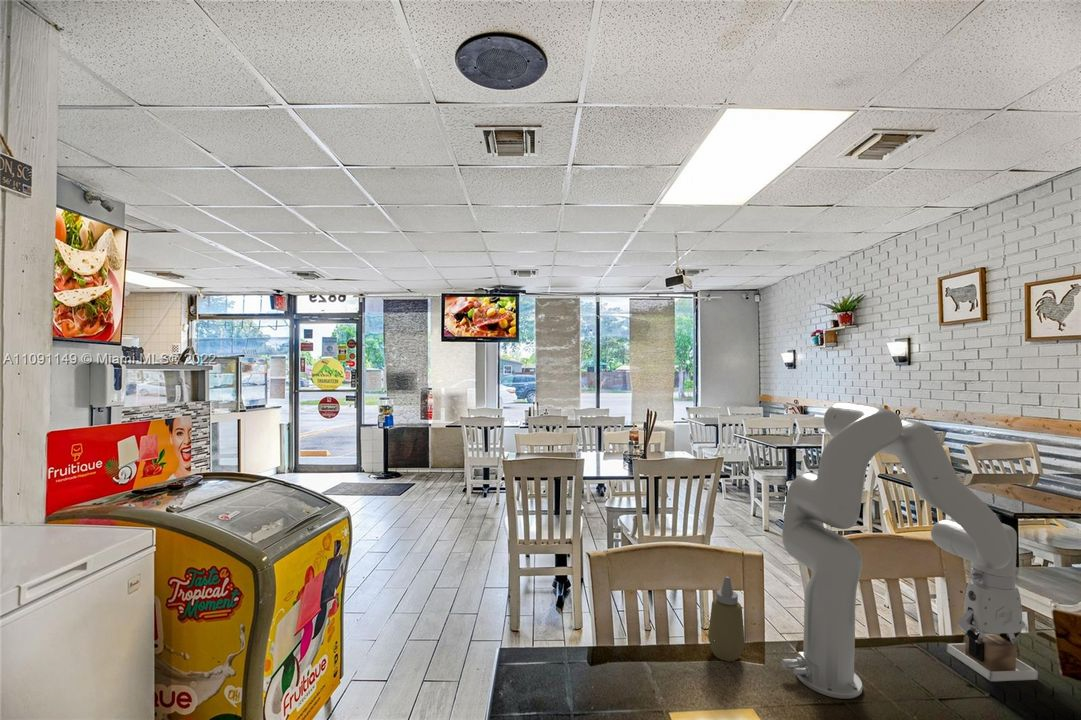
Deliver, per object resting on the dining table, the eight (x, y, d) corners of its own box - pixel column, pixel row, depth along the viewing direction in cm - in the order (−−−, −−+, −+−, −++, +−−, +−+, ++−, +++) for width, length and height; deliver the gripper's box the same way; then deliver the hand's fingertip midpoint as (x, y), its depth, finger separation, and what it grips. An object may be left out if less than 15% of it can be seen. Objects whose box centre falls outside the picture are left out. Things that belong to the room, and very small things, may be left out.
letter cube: (990, 673, 111) (990, 646, 111) (965, 657, 117) (966, 631, 117) (1015, 672, 112) (1016, 645, 112) (989, 656, 118) (990, 630, 118)
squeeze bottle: (738, 670, 112) (740, 589, 112) (702, 656, 117) (703, 578, 117) (748, 653, 119) (750, 576, 118) (714, 640, 123) (715, 567, 123)
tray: (990, 683, 109) (991, 672, 109) (946, 653, 120) (947, 643, 120) (1037, 681, 110) (1037, 671, 110) (989, 651, 120) (989, 642, 120)
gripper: (972, 586, 110) (969, 669, 110) (1045, 585, 111) (1043, 666, 111) (942, 571, 117) (939, 648, 118) (1011, 570, 119) (1009, 646, 119)
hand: (990, 656), depth 115 cm, fingers closed on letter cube, 6 cm apart
